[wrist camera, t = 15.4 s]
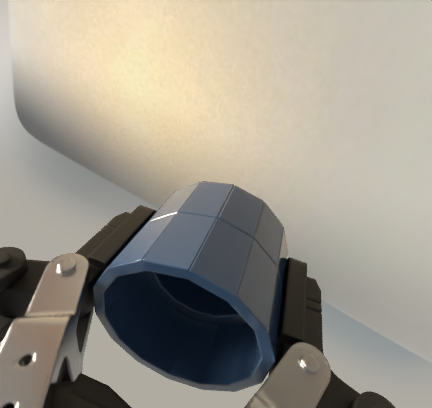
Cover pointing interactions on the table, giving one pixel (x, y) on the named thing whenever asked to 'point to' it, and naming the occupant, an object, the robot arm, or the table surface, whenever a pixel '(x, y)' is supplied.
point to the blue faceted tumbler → (200, 289)
